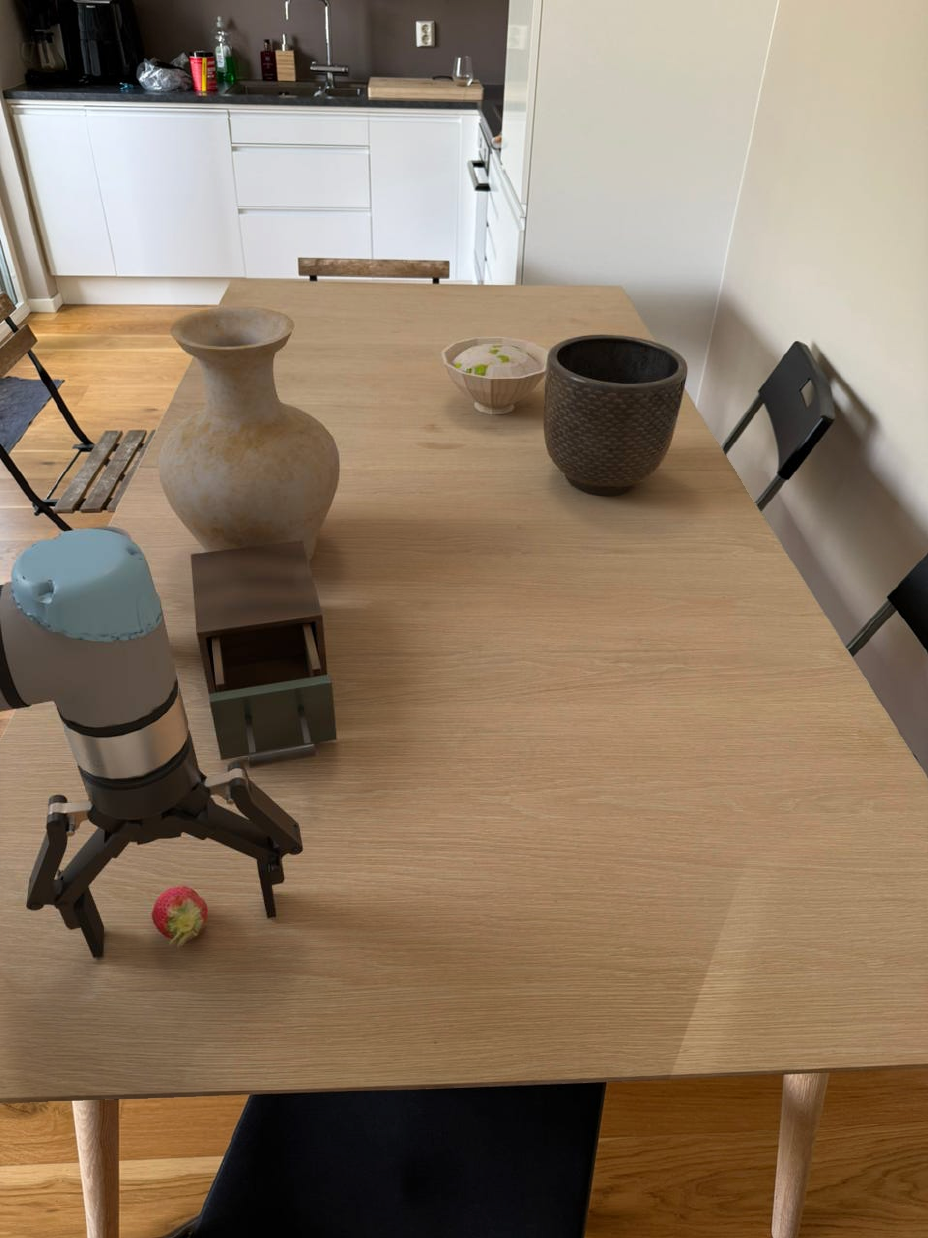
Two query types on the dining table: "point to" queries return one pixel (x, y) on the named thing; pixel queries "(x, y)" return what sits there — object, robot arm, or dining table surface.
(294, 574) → the cabinet
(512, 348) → the bowl
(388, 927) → the dining table surface
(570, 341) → the planter
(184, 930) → the fruit
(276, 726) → the drawer
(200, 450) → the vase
